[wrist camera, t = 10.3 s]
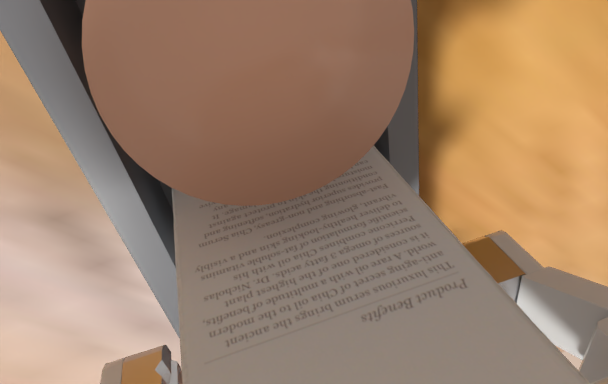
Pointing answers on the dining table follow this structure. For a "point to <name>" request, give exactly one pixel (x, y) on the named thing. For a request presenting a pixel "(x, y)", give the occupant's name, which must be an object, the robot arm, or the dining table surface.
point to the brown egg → (247, 88)
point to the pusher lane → (115, 161)
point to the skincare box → (346, 293)
